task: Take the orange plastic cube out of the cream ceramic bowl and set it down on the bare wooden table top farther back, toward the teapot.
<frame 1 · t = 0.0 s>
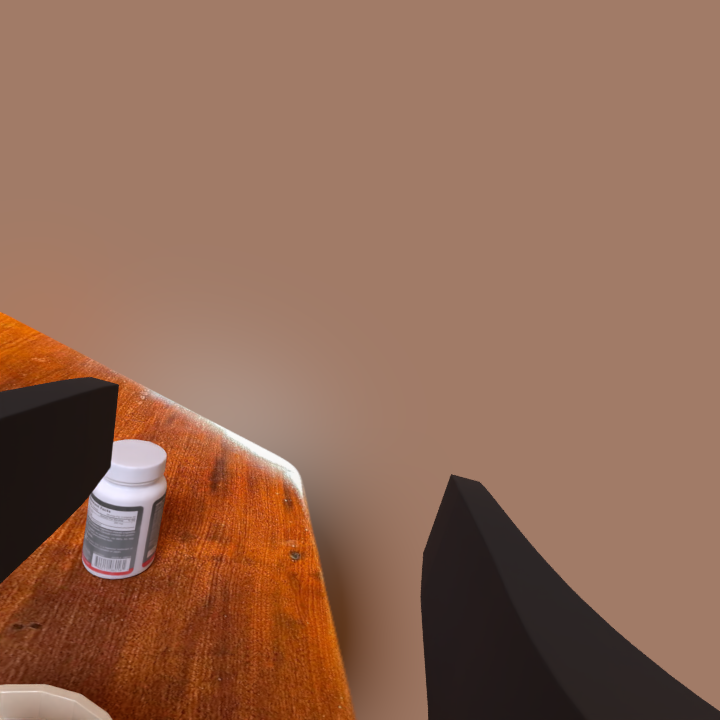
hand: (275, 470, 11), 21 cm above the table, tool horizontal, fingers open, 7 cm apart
pill bottle: (118, 560, 36), on the table
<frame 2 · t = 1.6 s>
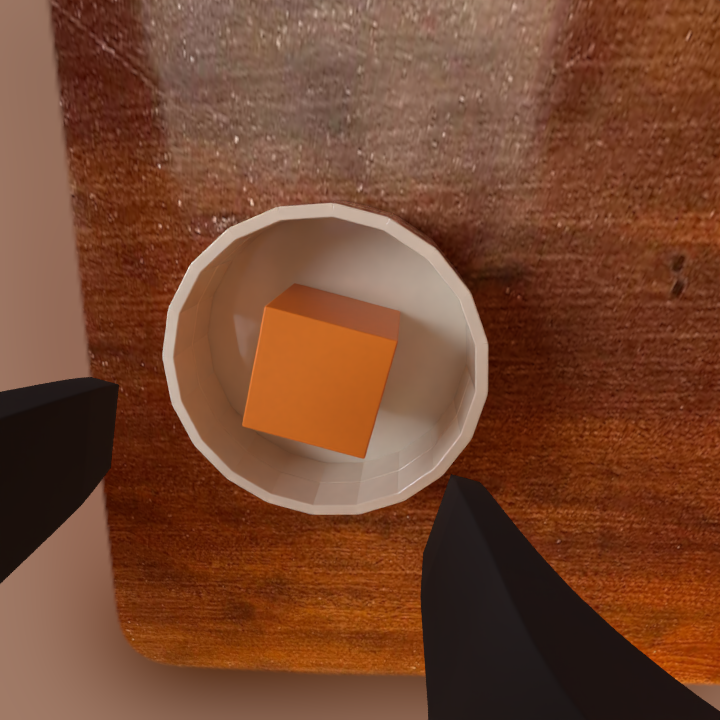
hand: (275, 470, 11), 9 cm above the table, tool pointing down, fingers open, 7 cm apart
block: (334, 347, 19), resting on bowl
bowl: (336, 344, 20), on the table
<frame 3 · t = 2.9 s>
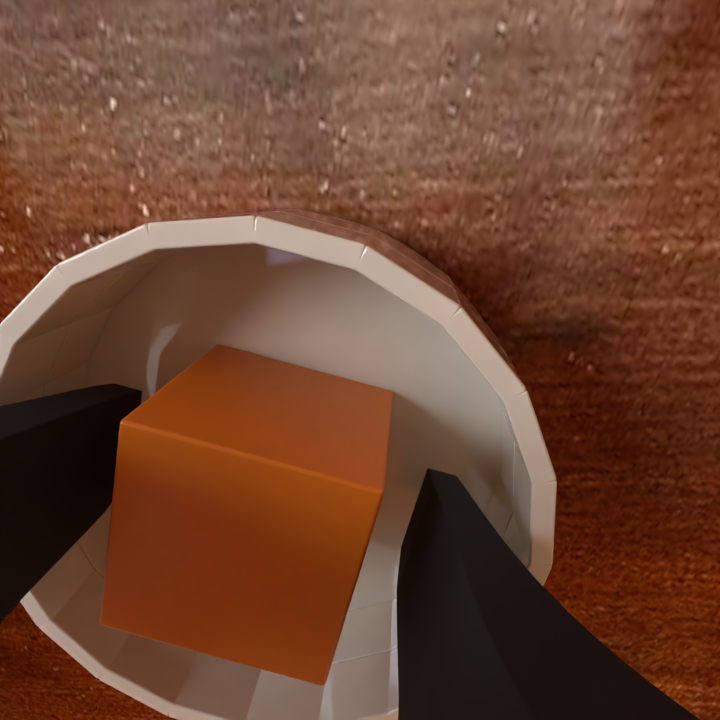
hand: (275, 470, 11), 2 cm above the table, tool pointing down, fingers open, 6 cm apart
block: (287, 445, 12), resting on bowl
bowl: (292, 435, 12), on the table
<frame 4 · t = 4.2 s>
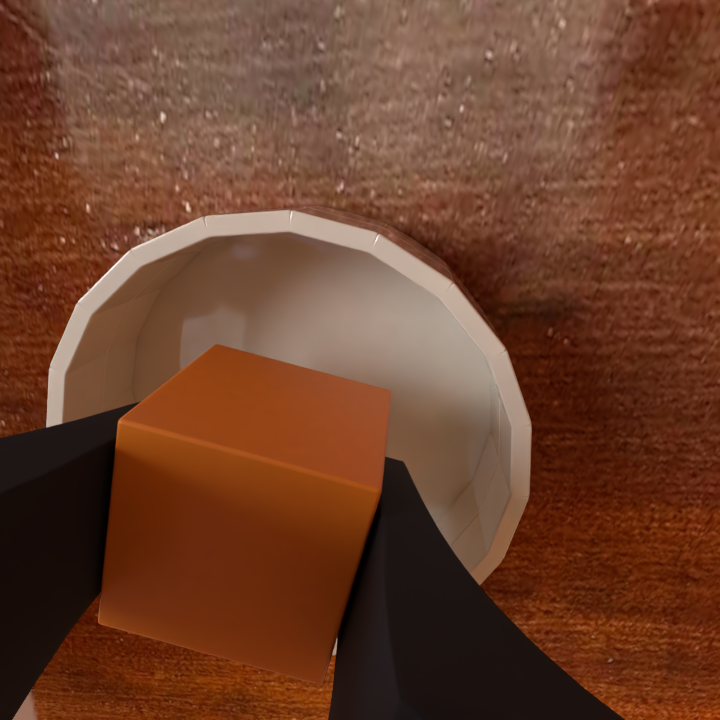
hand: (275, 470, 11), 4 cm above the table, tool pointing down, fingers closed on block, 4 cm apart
block: (285, 444, 12), point 3 cm above the table, touching gripper
bowl: (310, 402, 14), on the table
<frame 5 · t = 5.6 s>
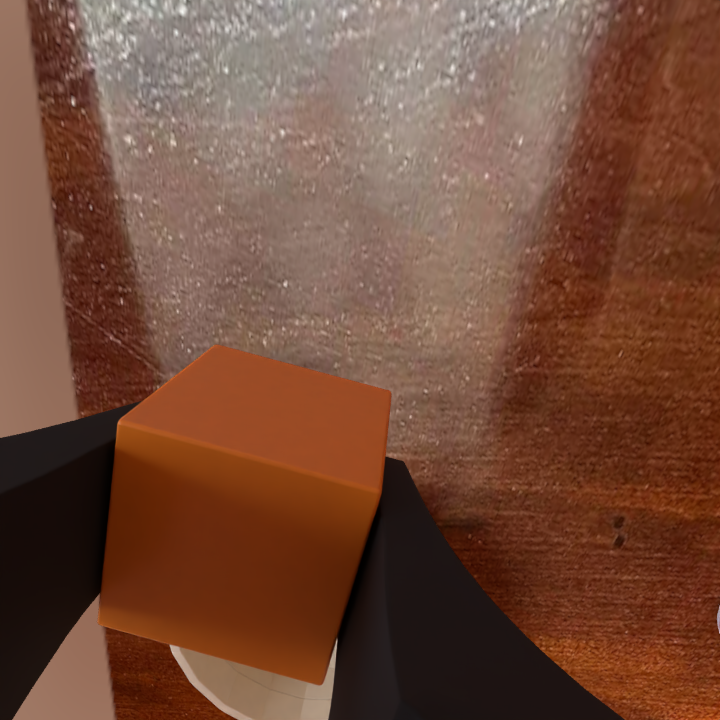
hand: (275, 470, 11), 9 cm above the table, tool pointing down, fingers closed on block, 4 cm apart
block: (285, 445, 12), point 7 cm above the table, touching gripper
bowl: (319, 571, 22), on the table
when the fingers open (1 cm above the table, at t = 7.9 s): block stays where it is, on the table.
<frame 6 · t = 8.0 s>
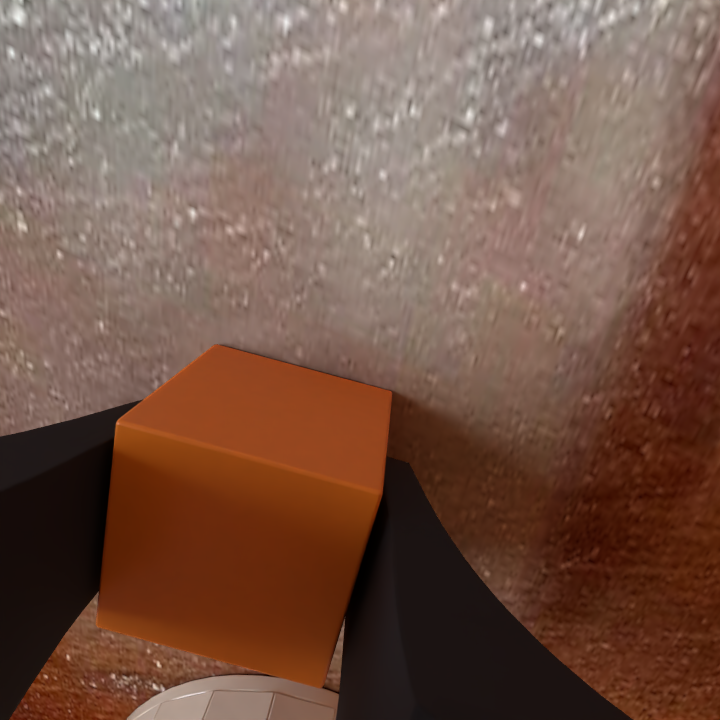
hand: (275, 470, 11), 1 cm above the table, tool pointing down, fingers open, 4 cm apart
block: (285, 446, 12), on the table
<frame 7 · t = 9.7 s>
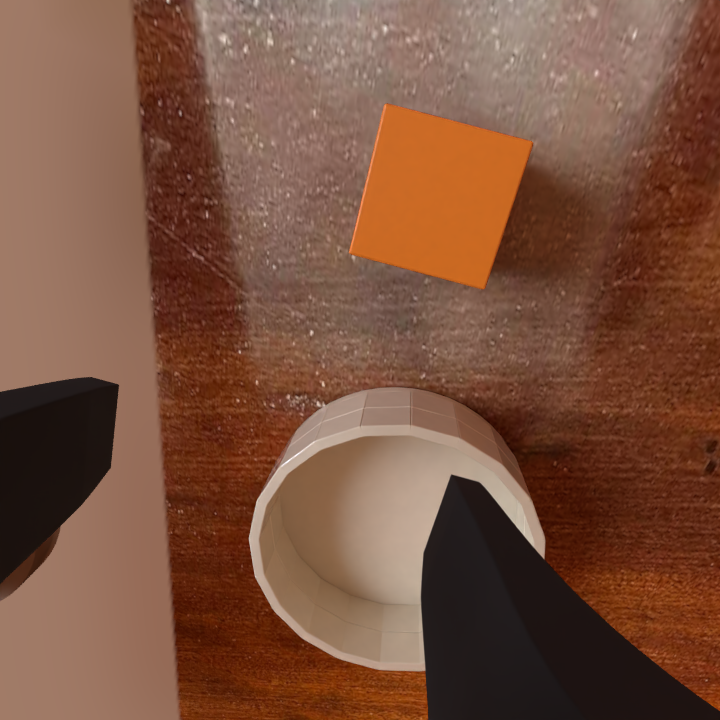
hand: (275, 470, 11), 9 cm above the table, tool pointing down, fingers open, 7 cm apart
block: (431, 198, 18), on the table
bowl: (396, 502, 22), on the table
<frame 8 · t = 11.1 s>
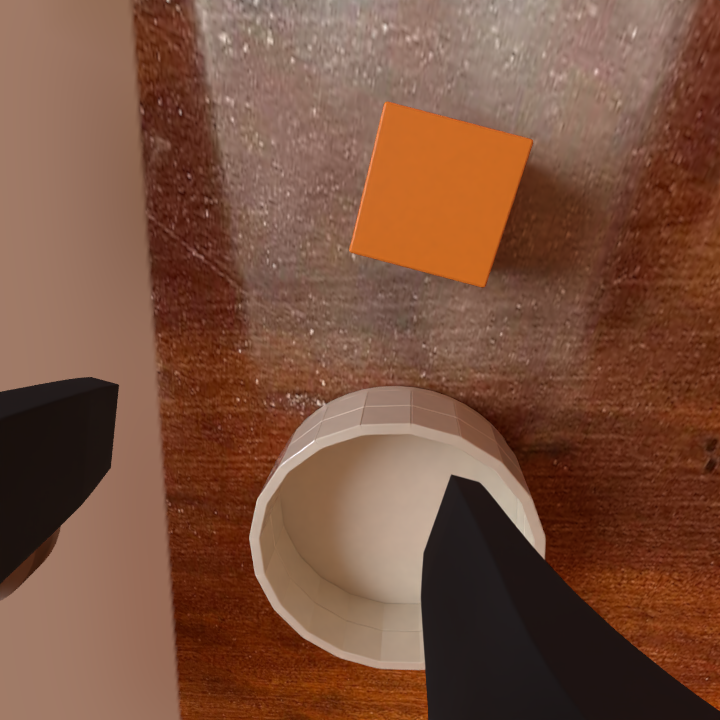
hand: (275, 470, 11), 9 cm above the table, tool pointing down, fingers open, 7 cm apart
block: (431, 197, 18), on the table
bowl: (396, 501, 22), on the table
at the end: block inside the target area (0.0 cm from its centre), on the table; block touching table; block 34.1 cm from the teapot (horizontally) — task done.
